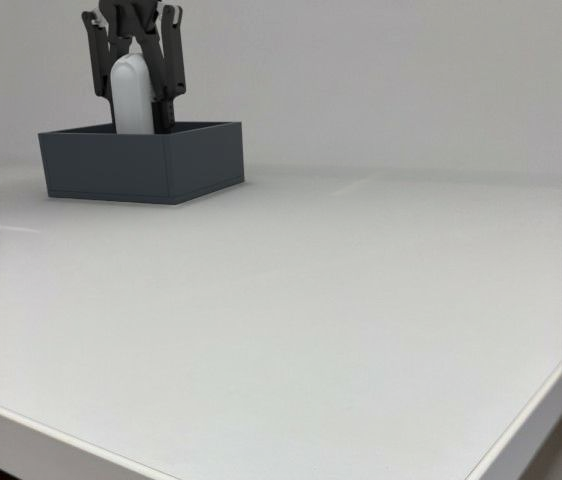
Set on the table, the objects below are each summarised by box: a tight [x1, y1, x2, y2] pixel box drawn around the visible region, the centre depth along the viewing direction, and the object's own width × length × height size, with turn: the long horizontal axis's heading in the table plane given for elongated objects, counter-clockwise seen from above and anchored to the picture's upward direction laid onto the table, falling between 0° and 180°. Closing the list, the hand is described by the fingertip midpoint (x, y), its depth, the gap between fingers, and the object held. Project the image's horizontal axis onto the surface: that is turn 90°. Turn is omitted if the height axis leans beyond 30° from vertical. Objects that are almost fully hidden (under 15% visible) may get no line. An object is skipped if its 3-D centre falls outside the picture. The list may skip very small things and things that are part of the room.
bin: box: [37, 120, 246, 206], centre depth 91 cm, size 20×18×8 cm
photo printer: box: [111, 52, 156, 134], centre depth 88 cm, size 10×4×12 cm, turn 169°
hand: (146, 154), depth 90 cm, fingers closed on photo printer, 5 cm apart
